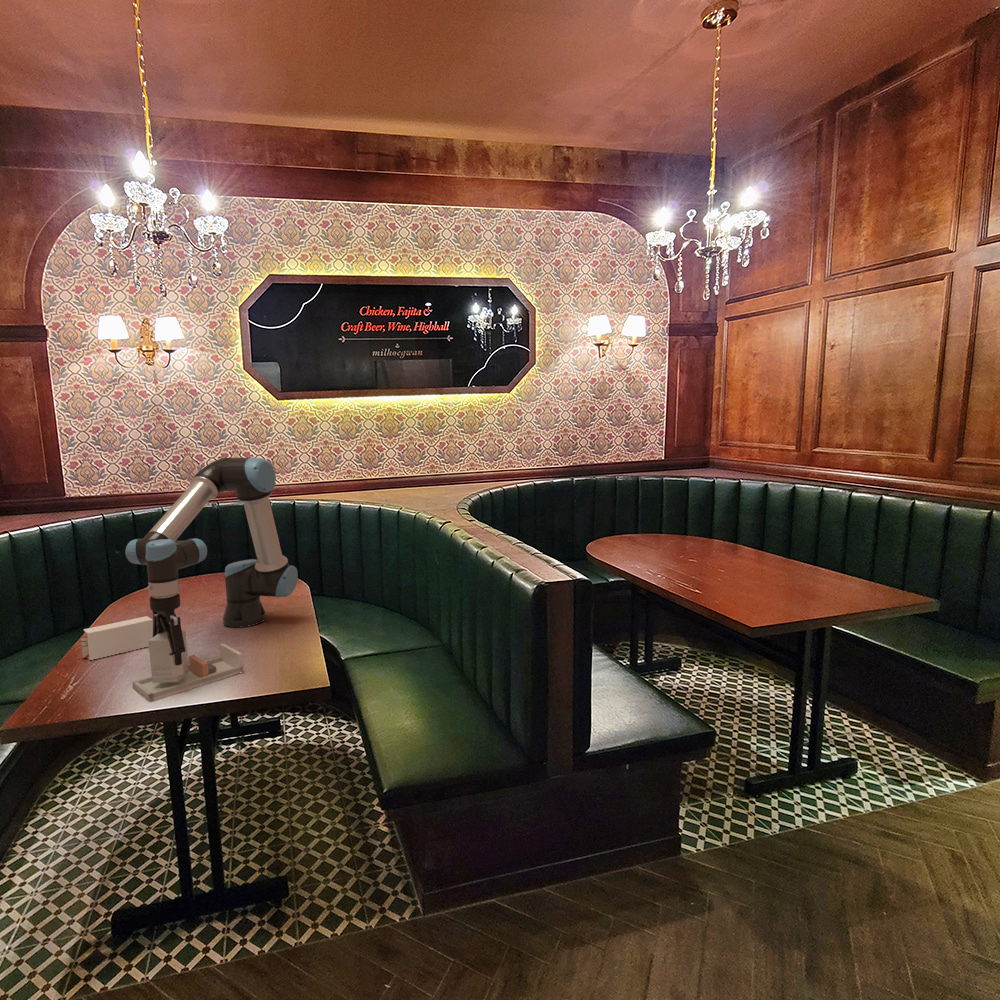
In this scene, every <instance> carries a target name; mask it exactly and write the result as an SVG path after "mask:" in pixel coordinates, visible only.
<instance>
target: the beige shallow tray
mask: <svg viewBox="0 0 1000 1000" xmlns="http://www.w3.org/2000/svg"><path fill="white" fill-rule="evenodd" d="M219 655H220V656H218V657H217V656H216V657H213V658H211V659H206V660H204V661H205V662H207V663H208V664H212V665H214V666H215V667H216V671H214V672H211V673H209V675H208V676H205V677H202V678H201V677H200V676H198V675H196V674H195V673H193V672H192V671H190V670H189V673H188V674H187V675H185V676H184V677H183V678H182V679H181V680H180V681H178V682H164V683H152V675H150V676H148V677H147V676H146V677H144V678H140V679H136V680H133V681H132V683H131V684H132V689H133V690H134V691H135V692H137V693H138V694H141V696H142V697H143V698H144V699H145V700H147V701H148V702H149V703H151V702H154V701H157V700H160V699H164V698H167V697H169V696H170V697H171V696H173V695H176V694H179V693H183V692H185V690H186V691H189V690H192V689H191V688H193V689H196V688H198V687H197V686H199V687H201V686H200V685H202V686H205V685H208V684H211V683H210V682H212V683H214V682H213V681H215V682H217V681H216V680H218V681H220V680H219V679H221V680H223V679H222V678H224V679H226V678H225V677H228V676H231V675H234V674H237V673H240V672H243V673H244V665H243V663H244V661H243V653H242V652H240V651H238V650H237V649H234V648H232V647H231V646H229V645H227V644H225V643H220V644H219ZM240 674H241V673H240ZM237 675H238V674H237ZM234 676H235V675H234ZM231 677H232V676H231ZM228 678H229V677H228ZM207 683H208V684H207ZM204 684H205V685H204ZM195 687H196V688H195ZM188 689H189V690H188Z"/></svg>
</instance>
